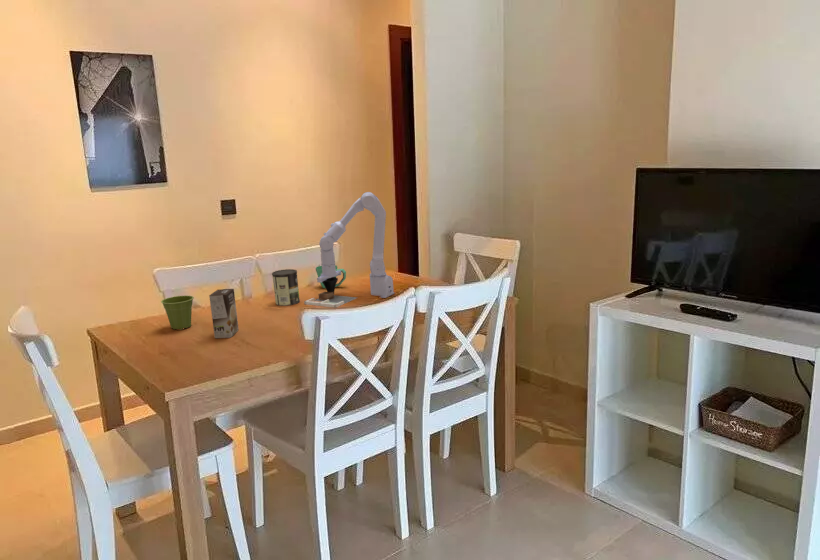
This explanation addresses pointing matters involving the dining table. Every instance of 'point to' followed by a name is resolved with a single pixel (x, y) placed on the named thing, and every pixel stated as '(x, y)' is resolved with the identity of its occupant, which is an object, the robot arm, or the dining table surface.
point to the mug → (319, 272)
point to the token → (326, 295)
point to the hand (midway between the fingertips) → (331, 295)
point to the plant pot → (179, 311)
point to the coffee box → (224, 313)
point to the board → (330, 301)
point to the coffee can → (286, 287)
